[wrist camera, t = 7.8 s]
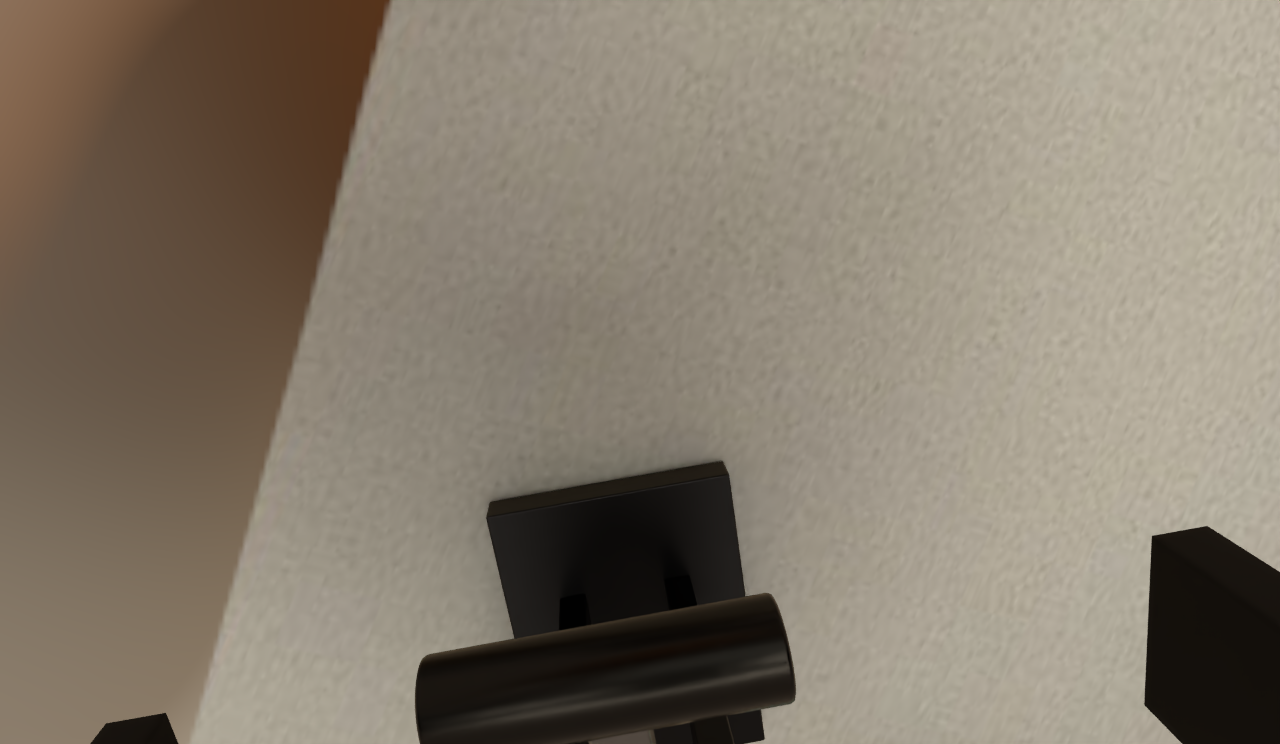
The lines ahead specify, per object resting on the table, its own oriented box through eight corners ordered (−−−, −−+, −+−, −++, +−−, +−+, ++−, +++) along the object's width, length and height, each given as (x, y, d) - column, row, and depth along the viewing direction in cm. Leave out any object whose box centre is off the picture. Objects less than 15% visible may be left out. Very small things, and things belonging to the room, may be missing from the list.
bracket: (489, 501, 31) (425, 779, 17) (722, 460, 31) (834, 703, 18) (548, 757, 34) (532, 1151, 21) (758, 718, 34) (873, 1083, 21)
